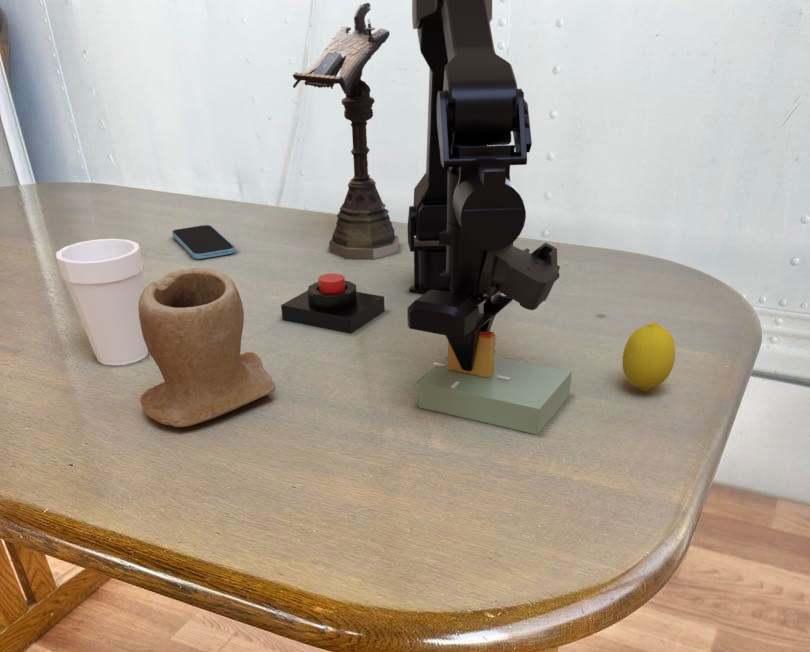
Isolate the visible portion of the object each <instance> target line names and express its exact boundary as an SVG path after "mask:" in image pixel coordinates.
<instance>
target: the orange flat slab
mask: <svg viewBox="0 0 810 652" xmlns="http://www.w3.org/2000/svg"><path fill="white" fill-rule="evenodd" d="M496 335H497V334H495V332H494V331H491V330H490V331H484V332H480V333H479V338H478V344H477V350H476V356H475V361H474V365H473V369H472V370H471V371H465V370H463V369H462V368H461V366H460V364H459V362H458V360H457V358H456V355H455V353H454V351H453V349H452V347H451V345H450V343H449V341H448V340H447V357H448V369H449V370H454V371H459V372H463V373H468V374H473V375H478V376H483V377H487V378H489V377H490V376H491V375H492V374H493V373H494V357H496V356H495V355H496V354H495V353H496V338H497V337H496Z"/></svg>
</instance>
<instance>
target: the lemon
mask: <svg viewBox="0 0 810 652" xmlns="http://www.w3.org/2000/svg"><path fill="white" fill-rule="evenodd" d="M675 359H676V344H675V340H674V338H673V335H672V334H671V332H670V331H668V329H666V328H665V327H663V326H661V325H659V323H658V322H656V321H652V322H650V323H649V324H645V325H642V326H640V327H638V328H637V329H635V330H634V331H633V332H632V333H631V334H630V336H629V338H628V339H627V340H626V343H625V346H624V349H623V352H622V363H621V365H622V371H623V373H624V376H625V378H626V379H627V381H628V382H630V384H632V385H633V386H635V387H637V388H638V389H639V391H641V392H646V391H647V390H650V389H652V388H656V387H658V386H659V385H661V384H662V383H664V382H665V381H666V380H667V378H668V377H669V376H670V374H671V373H672V371H673V368H674V364H675Z"/></svg>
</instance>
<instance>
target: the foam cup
mask: <svg viewBox="0 0 810 652" xmlns="http://www.w3.org/2000/svg"><path fill="white" fill-rule="evenodd" d="M141 253H142V252H141V249H140V245H139V243H138V242H135V241H133V240H130V239H123V238H100V239H99V238H98V239H97V238H96V239H90V240H85V241H80V242H76V243H72V244H70V245H67V246H63V247H62V248H61V249H59V250H58V251H56V252H55V254H56V255H55V257H56V262H57V265H58V269H59V273H60V277H61V279H63V280H64V282H65V284H66V288H67V290H68V292H69V294H70V297H71V299H72V302H73V304H74V307H75V310H76V312H77V314H78V317H79V320H80V322H81V324H82V326H83V330H84V331H85V334H86V336H87V339H88V341H89V343H90V346H91V349H92V351H93V354H94V356H95V357H96V360H97V362H99V364H102V365H105V366H125V365H130V364H134V363H137V362H139V361H142V360H144V359H146V357H147V356H148V355H149V350H148V348H147V346H146V344H145V341H144V338H143V334H142V330H141V325H140V319H139V310H138V305H139V299H140V296H141V294H142V293H143V291H144V289H145V288H144V277H143V270H144V269H145V268H144V264H143V259H142V254H141Z"/></svg>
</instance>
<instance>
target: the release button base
mask: <svg viewBox="0 0 810 652" xmlns="http://www.w3.org/2000/svg"><path fill="white" fill-rule="evenodd" d="M280 309H281V318H282V321H284V322H290V323H294V324H300V325H304V326H308V327H309V326H310V327H313V328H314V327H315V328H319V329H325V330H329V331H335V332H338V333H339V332H340V333H345V334H350V335H351V334H353V333H355V332H356V331H358V330H359V329H361V328H362V327H364V326H366V325H367V324H368V323H370V322H372V321H373V320H374V319H376V318H377V317H378V316H380V315H382V314H383V313H384V312H385V296H383V295H378V294H371V293H365V292H362V291H361V292H360V291H357V284H356V283H354V282H352V281H350V280H345V290H344V291H343V292H338V293H323V292H319V285H318V281H317V282H313V283H311V284H310V285H308V288H307V290H306V291H304V292H302V293H300V294H299V295H297V296H295V297H292V298H291V299H289V300H287V301H286V302H284V303H282V304H281V305H280Z"/></svg>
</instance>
